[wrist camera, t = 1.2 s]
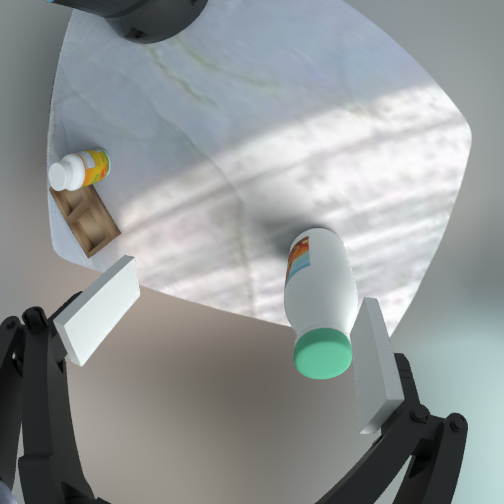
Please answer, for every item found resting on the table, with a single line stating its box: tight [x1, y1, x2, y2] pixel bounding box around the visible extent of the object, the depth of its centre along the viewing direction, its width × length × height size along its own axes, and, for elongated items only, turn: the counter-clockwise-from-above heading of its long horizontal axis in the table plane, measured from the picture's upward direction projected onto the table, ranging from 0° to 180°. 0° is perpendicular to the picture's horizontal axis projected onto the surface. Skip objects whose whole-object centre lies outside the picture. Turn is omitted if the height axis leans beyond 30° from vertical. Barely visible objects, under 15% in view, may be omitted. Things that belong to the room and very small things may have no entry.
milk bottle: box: [284, 228, 358, 379], centre depth 28 cm, size 8×8×20 cm
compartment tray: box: [49, 184, 121, 259], centre depth 40 cm, size 15×8×2 cm, turn 31°
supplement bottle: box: [49, 148, 111, 191], centre depth 33 cm, size 5×5×10 cm
